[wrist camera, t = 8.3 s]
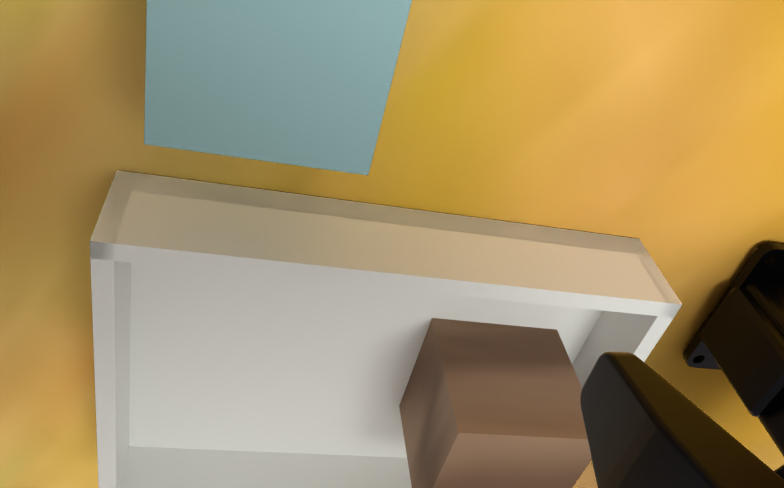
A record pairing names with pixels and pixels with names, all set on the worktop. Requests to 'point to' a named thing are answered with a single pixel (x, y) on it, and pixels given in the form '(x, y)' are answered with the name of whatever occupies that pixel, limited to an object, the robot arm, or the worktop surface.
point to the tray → (317, 325)
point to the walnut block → (493, 409)
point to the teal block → (272, 78)
